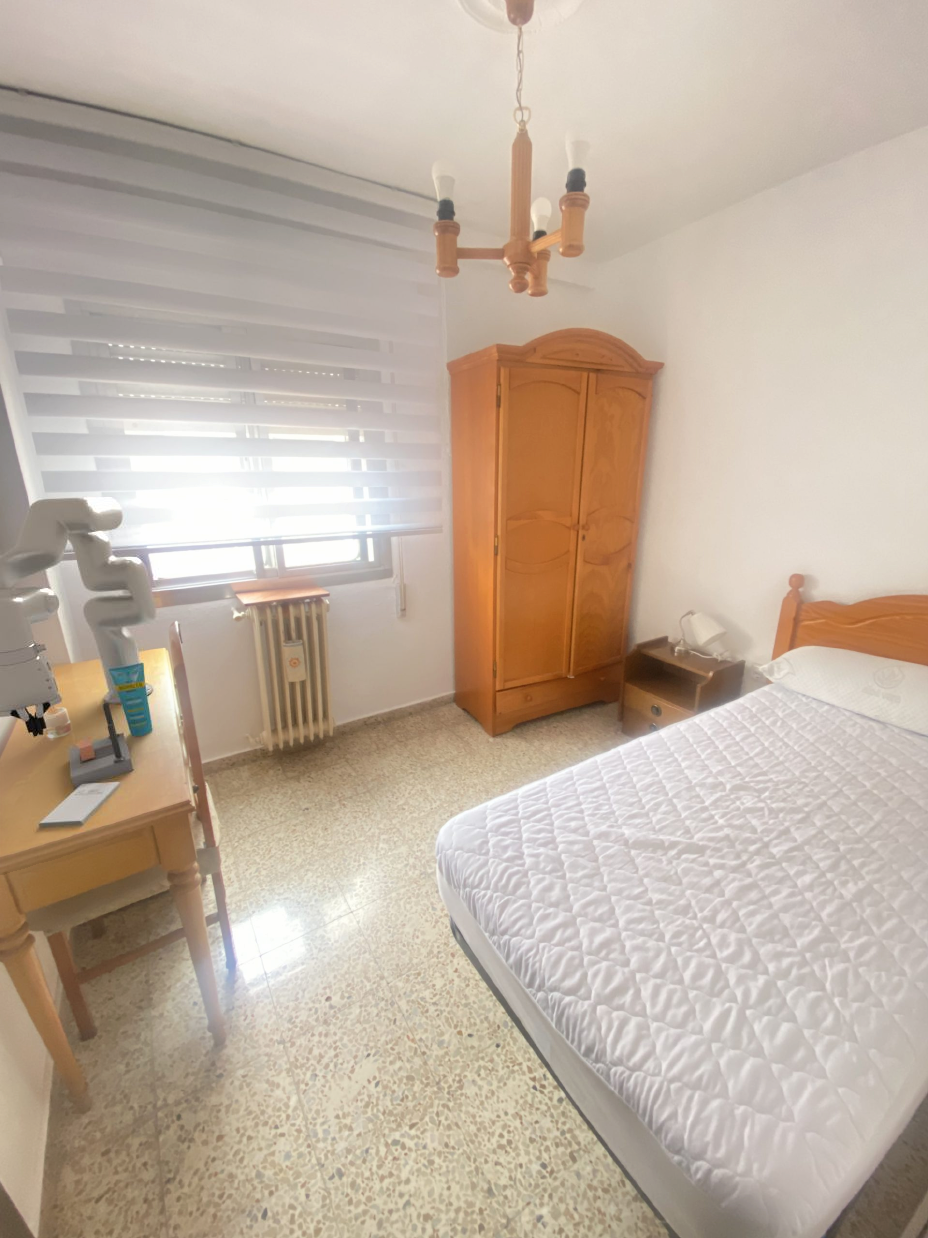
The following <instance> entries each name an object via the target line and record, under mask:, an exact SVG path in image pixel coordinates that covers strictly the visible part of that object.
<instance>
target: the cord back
mask: <svg viewBox="0 0 928 1238" xmlns="http://www.w3.org/2000/svg"><path fill="white" fill-rule="evenodd" d="M102 708H103V712H104V716H105V719H106V723H107V726H108V725H109V724H113V725H114V728H115V732H116V733H117V730H116V726H115V724H114V719H113V715H112V712H111V708H110V703H107V702H104V703H102Z"/></svg>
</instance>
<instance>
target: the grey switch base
mask: <svg viewBox="0 0 928 1238" xmlns="http://www.w3.org/2000/svg"><path fill="white" fill-rule="evenodd" d="M116 735H117V739H118V743H119V747H120V750H121V754H122V757H121V758H116V757H115V753H114V750H113V746H112V742H111V739H110V735H109V736H106V737H104V738H103V737H102V738H100V739H96V740H94V741H92V745H93V748H94V753H95V757H94V758H91V759H88V760H84V761H82V759H81V755H80V752H79V747H78V745H76V746H72V747H69V748H68V756H69V758H68V759H69V771H70V780H71V782H72V786H73V789H74V790H76V789H77V788H78V787H79V786H80V785H81V784H89V783H99V782H101V781H103V780H106V779H109V778H113V777H116V776H118V775H122V774H126V773H128V772H131V771H134V768H133V767H134V766H133V763H132V759H131V756H130V752H129V748H128V745H127V741H126V738H125V734H124V732H121V733H116Z"/></svg>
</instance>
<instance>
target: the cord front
mask: <svg viewBox="0 0 928 1238" xmlns="http://www.w3.org/2000/svg"><path fill="white" fill-rule="evenodd" d="M114 726H115V724H114V725H113V724H109V725H108V724H107V731H108V735H109V736H110V739H111V742H112V746H113V750H114V753H115V757H116V758H121V757H122V754H121V750H120V747H119V743H118V739H117V735H116V734H117V731H116V732H115V730H116V727H115V728H114Z"/></svg>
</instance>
